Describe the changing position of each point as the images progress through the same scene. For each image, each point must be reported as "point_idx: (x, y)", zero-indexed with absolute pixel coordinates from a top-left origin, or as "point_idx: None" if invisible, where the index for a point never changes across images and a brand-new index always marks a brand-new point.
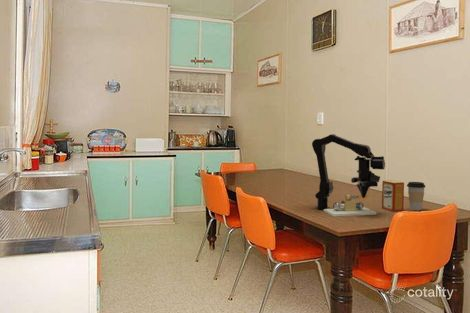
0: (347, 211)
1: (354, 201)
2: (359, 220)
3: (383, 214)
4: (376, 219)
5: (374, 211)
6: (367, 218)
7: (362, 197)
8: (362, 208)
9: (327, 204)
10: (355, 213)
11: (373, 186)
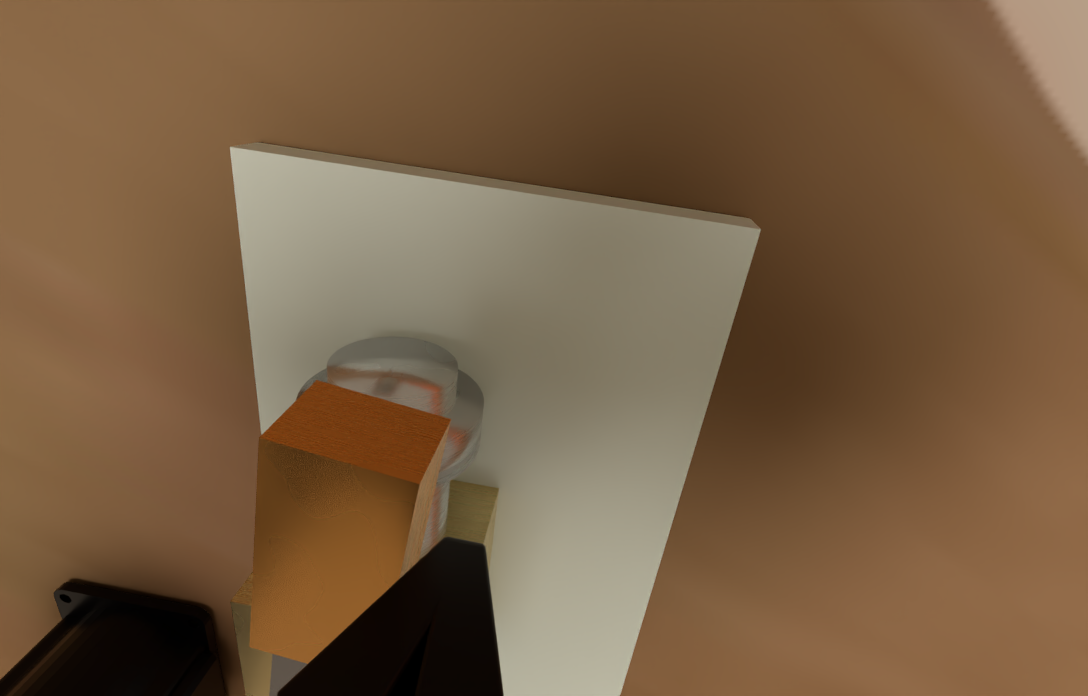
0: (502, 602)
1: None
2: (919, 662)
3: (817, 53)
4: (1043, 453)
5: (677, 217)
6: (895, 523)
7: (409, 564)
8: (342, 270)
9: (135, 671)
10: (654, 580)
11: None
